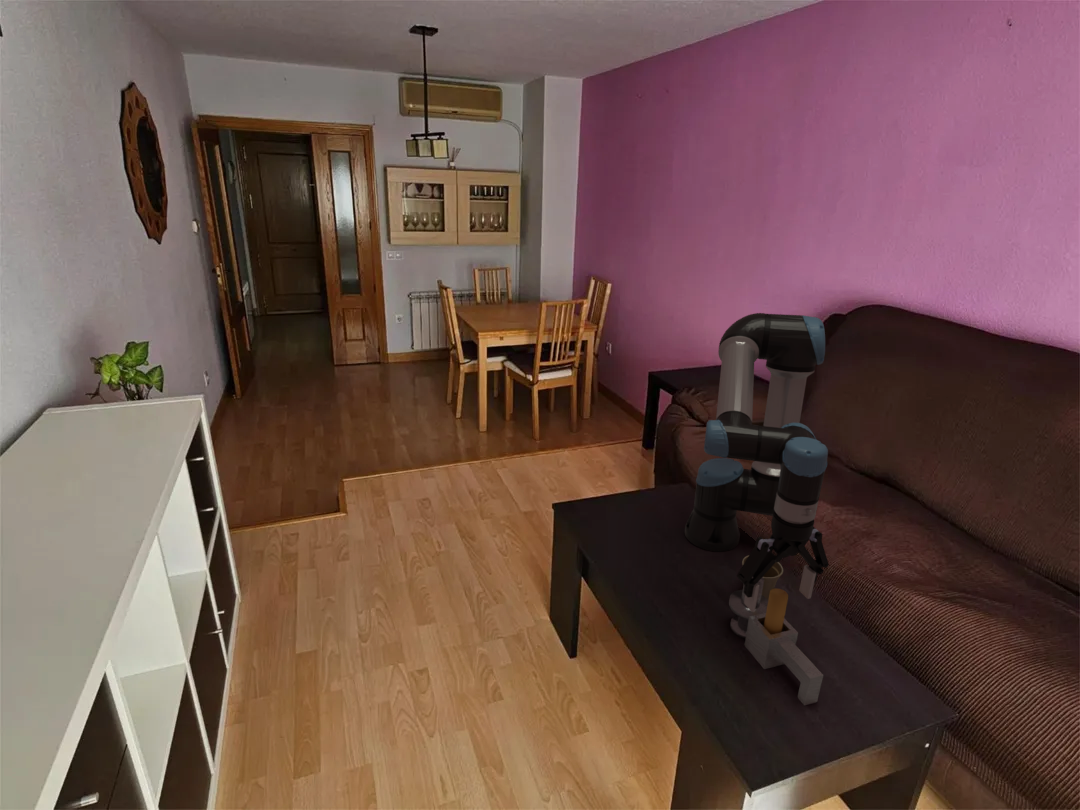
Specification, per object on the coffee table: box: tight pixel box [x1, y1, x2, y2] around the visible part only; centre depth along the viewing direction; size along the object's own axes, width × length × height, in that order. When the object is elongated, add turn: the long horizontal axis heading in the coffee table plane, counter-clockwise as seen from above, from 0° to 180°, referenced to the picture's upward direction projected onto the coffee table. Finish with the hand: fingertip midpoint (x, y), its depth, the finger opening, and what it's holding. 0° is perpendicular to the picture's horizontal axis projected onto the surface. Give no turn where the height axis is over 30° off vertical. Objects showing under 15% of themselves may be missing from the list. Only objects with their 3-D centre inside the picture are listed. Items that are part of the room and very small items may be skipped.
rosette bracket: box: [728, 577, 824, 706], centre depth 124 cm, size 26×9×14 cm, turn 16°
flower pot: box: [741, 554, 784, 600], centre depth 144 cm, size 9×9×9 cm
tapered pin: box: [764, 587, 789, 635], centre depth 124 cm, size 4×4×14 cm
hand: (777, 600), depth 123 cm, fingers open, 13 cm apart
